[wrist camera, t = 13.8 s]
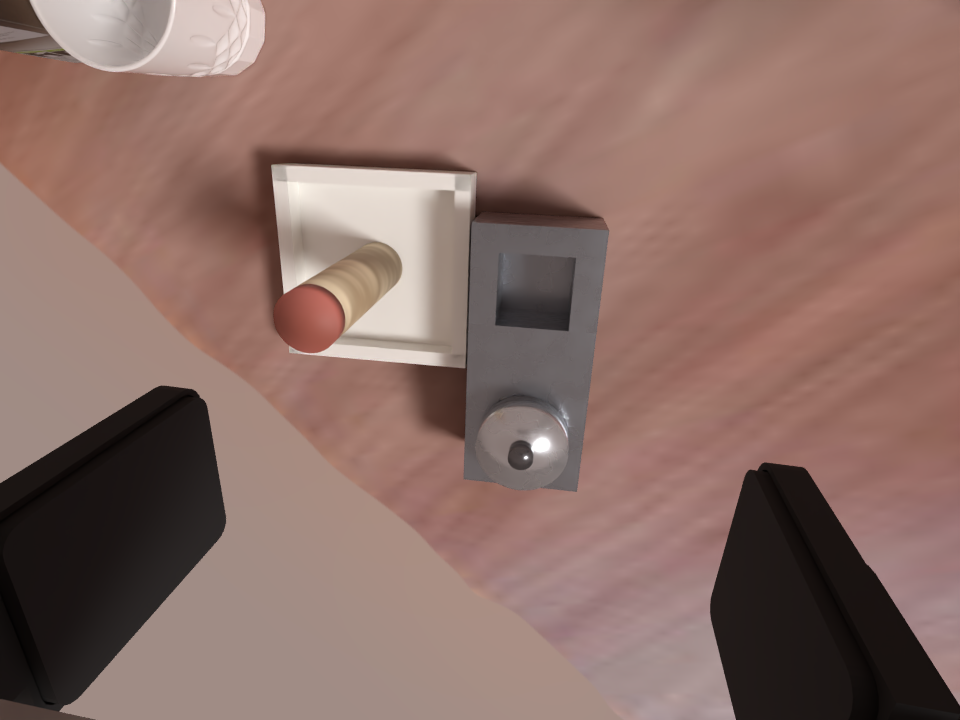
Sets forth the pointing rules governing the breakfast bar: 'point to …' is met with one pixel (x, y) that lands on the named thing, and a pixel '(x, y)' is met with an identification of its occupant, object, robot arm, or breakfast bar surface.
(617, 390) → the breakfast bar surface
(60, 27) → the white cup
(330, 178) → the tray
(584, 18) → the breakfast bar surface
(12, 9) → the coffee box
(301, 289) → the lock pin
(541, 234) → the block
